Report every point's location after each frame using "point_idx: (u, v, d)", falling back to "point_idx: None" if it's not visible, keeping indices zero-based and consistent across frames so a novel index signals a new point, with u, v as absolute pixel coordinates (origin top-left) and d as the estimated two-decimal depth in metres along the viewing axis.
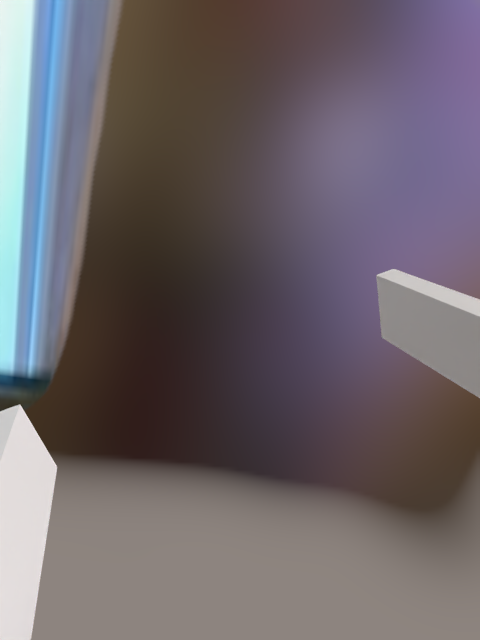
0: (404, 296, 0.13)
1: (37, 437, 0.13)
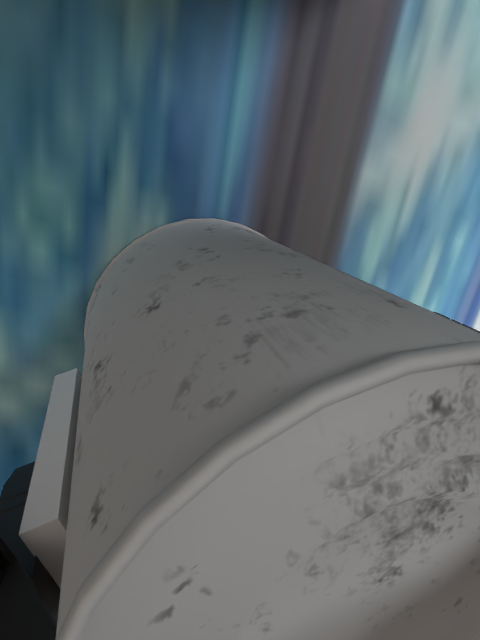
0: None
1: None
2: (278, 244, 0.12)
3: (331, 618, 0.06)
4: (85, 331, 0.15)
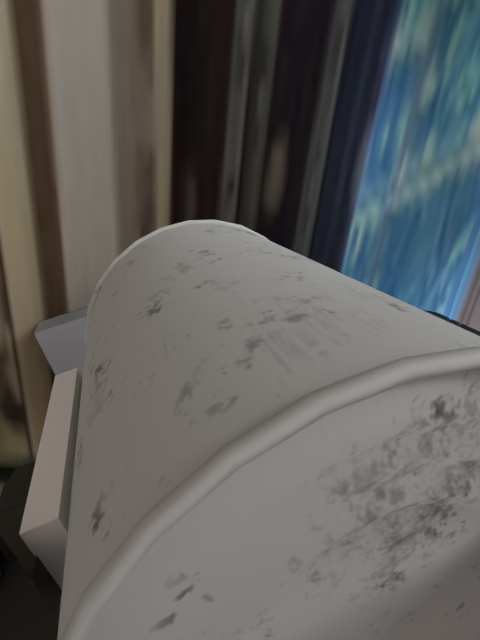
0: None
1: None
2: (279, 246, 0.12)
3: (334, 624, 0.06)
4: (85, 333, 0.15)
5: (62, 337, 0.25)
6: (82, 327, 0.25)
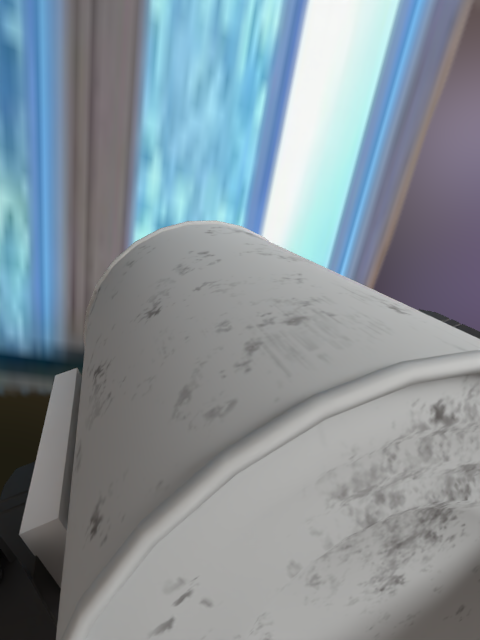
0: None
1: None
2: (279, 247, 0.12)
3: (333, 628, 0.06)
4: (85, 334, 0.15)
5: None
6: None
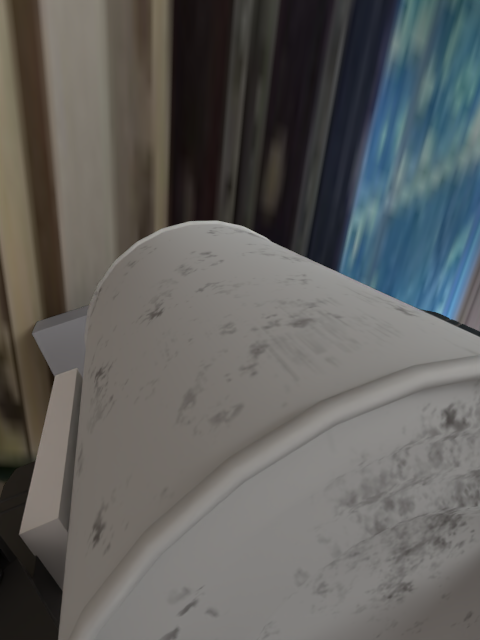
0: None
1: None
2: (281, 247, 0.12)
3: (339, 635, 0.06)
4: (86, 335, 0.15)
5: (60, 336, 0.25)
6: (80, 327, 0.25)
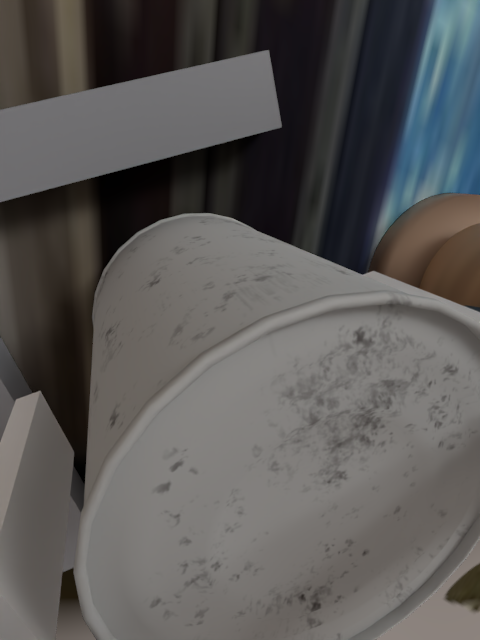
0: None
1: (56, 422, 0.13)
2: (262, 233, 0.14)
3: (291, 510, 0.08)
4: (93, 314, 0.17)
5: None
6: None
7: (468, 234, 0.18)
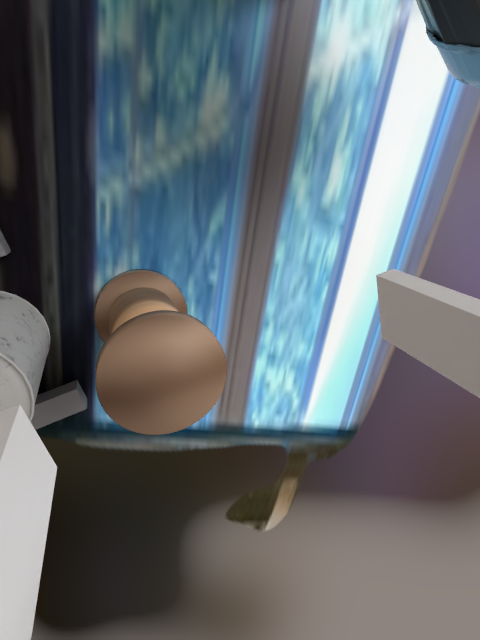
0: (404, 296, 0.13)
1: (37, 437, 0.13)
2: None
3: None
4: None
5: None
6: None
7: (124, 294, 0.36)
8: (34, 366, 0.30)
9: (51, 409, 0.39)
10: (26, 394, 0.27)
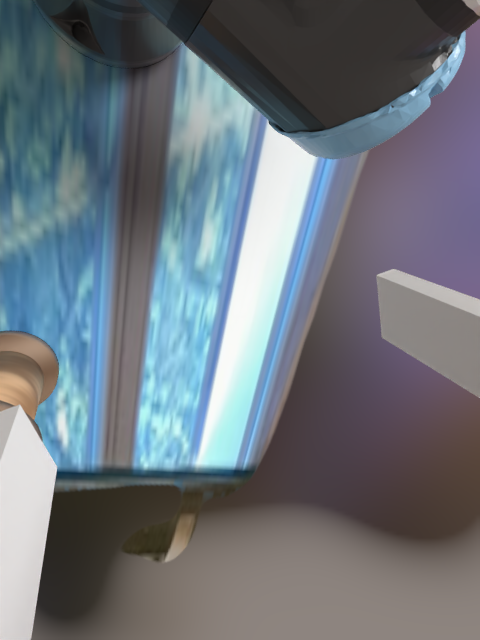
0: (404, 296, 0.13)
1: (37, 437, 0.13)
2: None
3: None
4: None
5: None
6: None
7: None
8: None
9: None
10: None
